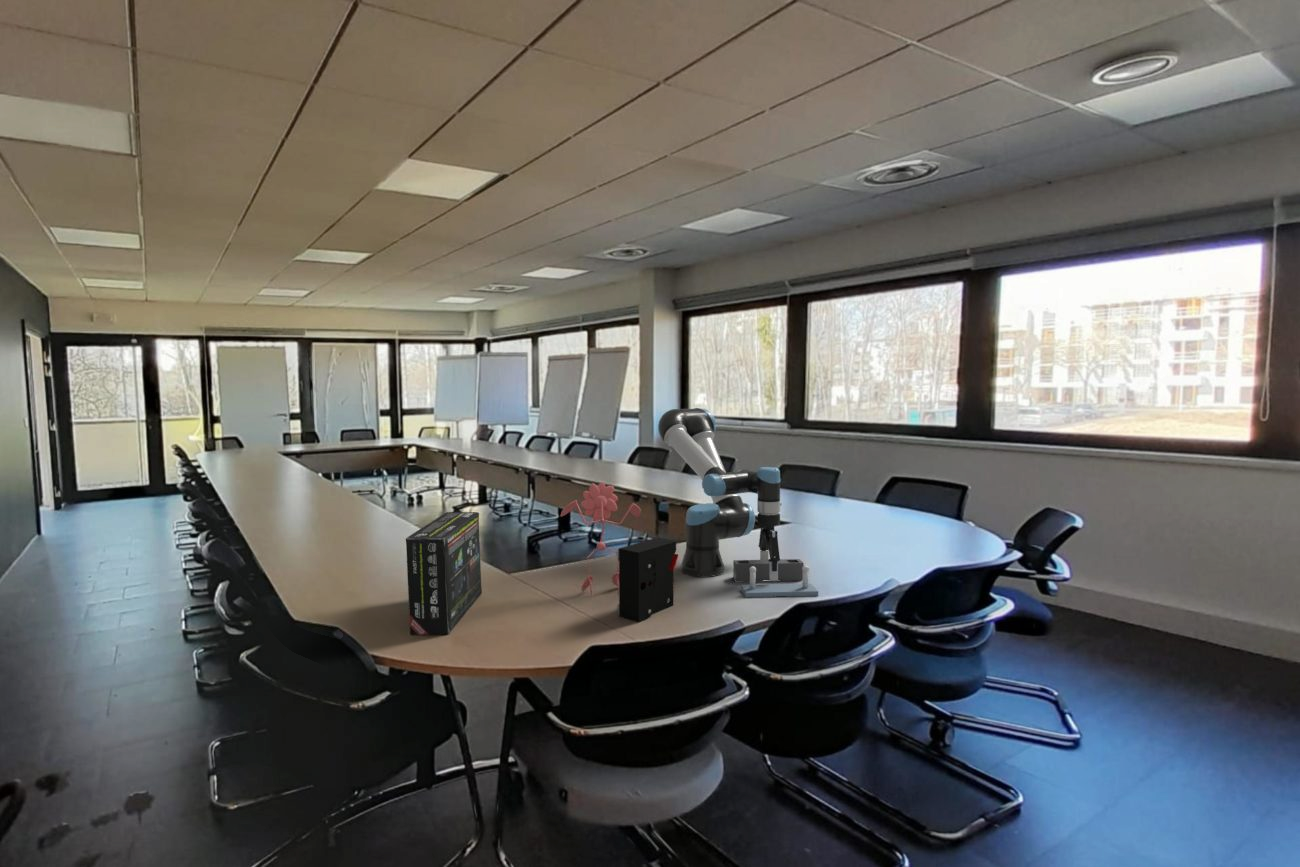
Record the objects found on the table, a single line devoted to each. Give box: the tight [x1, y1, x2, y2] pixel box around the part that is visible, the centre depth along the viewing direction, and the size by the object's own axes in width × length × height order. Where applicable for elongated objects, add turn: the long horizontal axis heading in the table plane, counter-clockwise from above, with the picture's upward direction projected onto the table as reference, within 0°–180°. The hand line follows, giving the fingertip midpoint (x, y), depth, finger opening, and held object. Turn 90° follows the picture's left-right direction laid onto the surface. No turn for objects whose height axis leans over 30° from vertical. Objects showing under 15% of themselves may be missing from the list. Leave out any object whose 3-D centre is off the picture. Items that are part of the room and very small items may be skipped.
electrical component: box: [615, 537, 679, 623], centre depth 198 cm, size 18×10×20 cm, turn 141°
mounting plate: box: [740, 564, 819, 598], centre depth 214 cm, size 23×8×9 cm, turn 93°
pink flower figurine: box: [560, 482, 642, 597], centre depth 218 cm, size 15×26×35 cm, turn 110°
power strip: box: [732, 558, 805, 582], centre depth 229 cm, size 23×5×6 cm, turn 93°
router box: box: [405, 511, 483, 636], centre depth 196 cm, size 36×11×27 cm, turn 0°
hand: (768, 574), depth 229 cm, fingers open, 13 cm apart
